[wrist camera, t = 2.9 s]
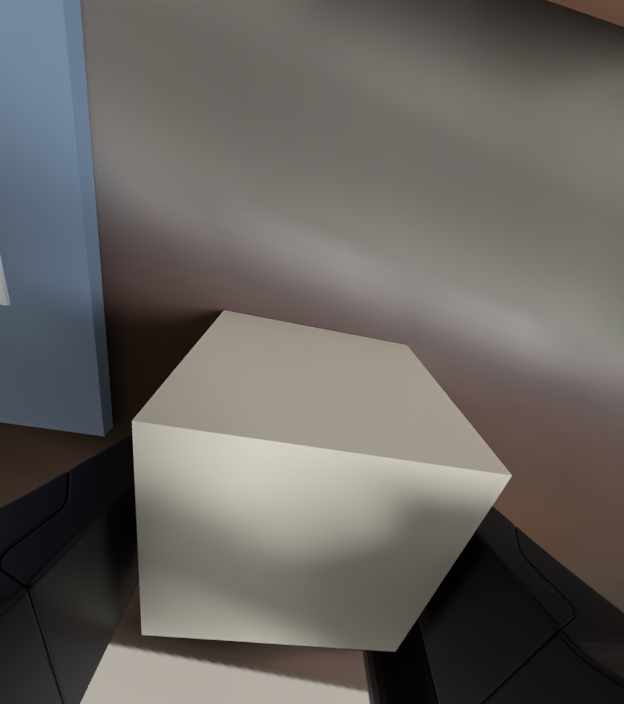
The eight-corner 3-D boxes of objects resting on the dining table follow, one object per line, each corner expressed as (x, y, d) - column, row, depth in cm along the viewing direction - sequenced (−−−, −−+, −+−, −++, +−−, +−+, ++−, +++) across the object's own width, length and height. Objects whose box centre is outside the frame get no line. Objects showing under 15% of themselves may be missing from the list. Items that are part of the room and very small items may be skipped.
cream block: (357, 475, 11) (395, 652, 7) (210, 455, 11) (141, 634, 6) (406, 344, 9) (512, 475, 4) (224, 310, 8) (131, 420, 4)
